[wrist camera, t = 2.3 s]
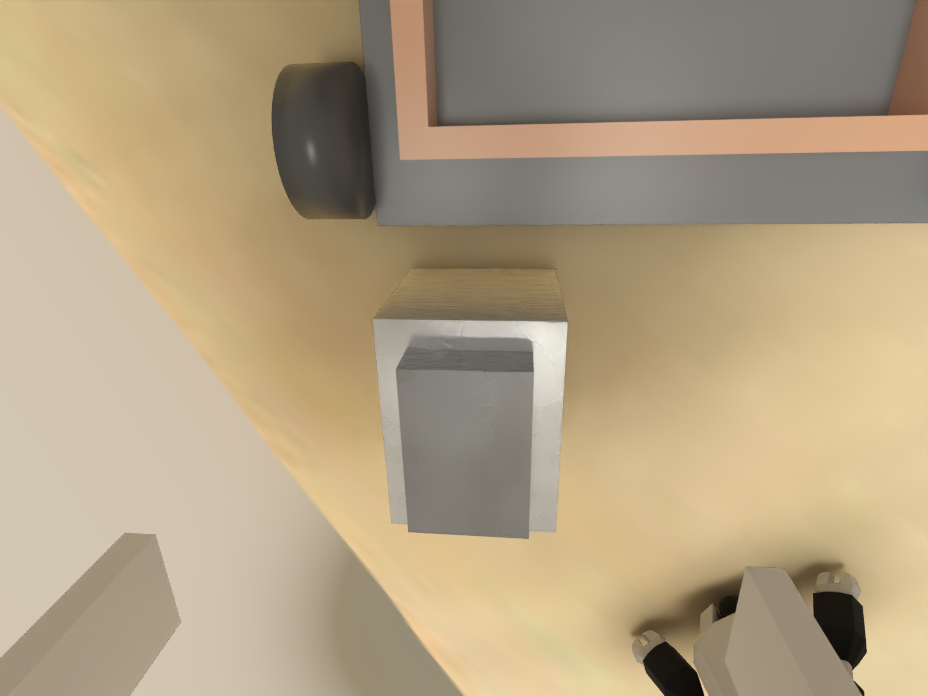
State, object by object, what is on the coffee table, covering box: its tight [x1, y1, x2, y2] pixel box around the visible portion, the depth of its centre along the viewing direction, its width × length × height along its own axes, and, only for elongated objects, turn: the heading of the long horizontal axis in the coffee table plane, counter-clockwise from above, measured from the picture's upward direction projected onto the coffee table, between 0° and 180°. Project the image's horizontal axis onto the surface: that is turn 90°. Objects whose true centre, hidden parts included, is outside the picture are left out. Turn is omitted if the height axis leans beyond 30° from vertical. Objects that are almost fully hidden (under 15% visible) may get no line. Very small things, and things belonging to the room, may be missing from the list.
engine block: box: [373, 268, 568, 539], centre depth 20 cm, size 8×6×8 cm
